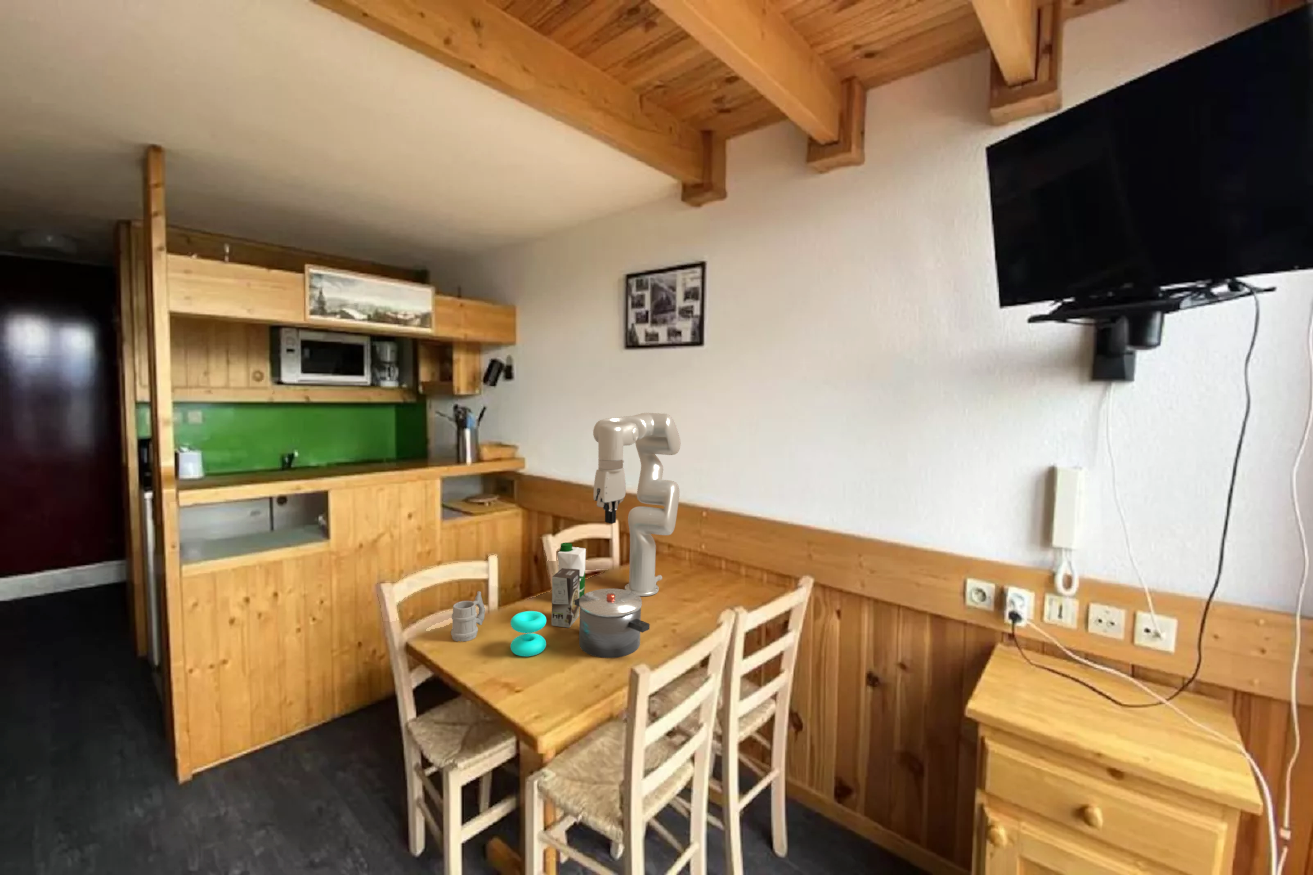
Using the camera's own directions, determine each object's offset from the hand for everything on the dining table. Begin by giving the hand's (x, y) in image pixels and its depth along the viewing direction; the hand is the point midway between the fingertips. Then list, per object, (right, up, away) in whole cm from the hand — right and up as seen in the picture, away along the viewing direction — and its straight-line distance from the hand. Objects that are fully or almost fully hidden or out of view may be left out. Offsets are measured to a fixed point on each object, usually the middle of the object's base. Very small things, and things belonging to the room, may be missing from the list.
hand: (610, 522), depth 174 cm
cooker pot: (0, -35, -8) cm, 36 cm away
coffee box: (-15, -33, +7) cm, 37 cm away
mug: (-42, -33, -4) cm, 54 cm away
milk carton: (-16, -31, +24) cm, 43 cm away
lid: (+1, -23, -9) cm, 24 cm away
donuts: (-23, -35, -13) cm, 44 cm away
